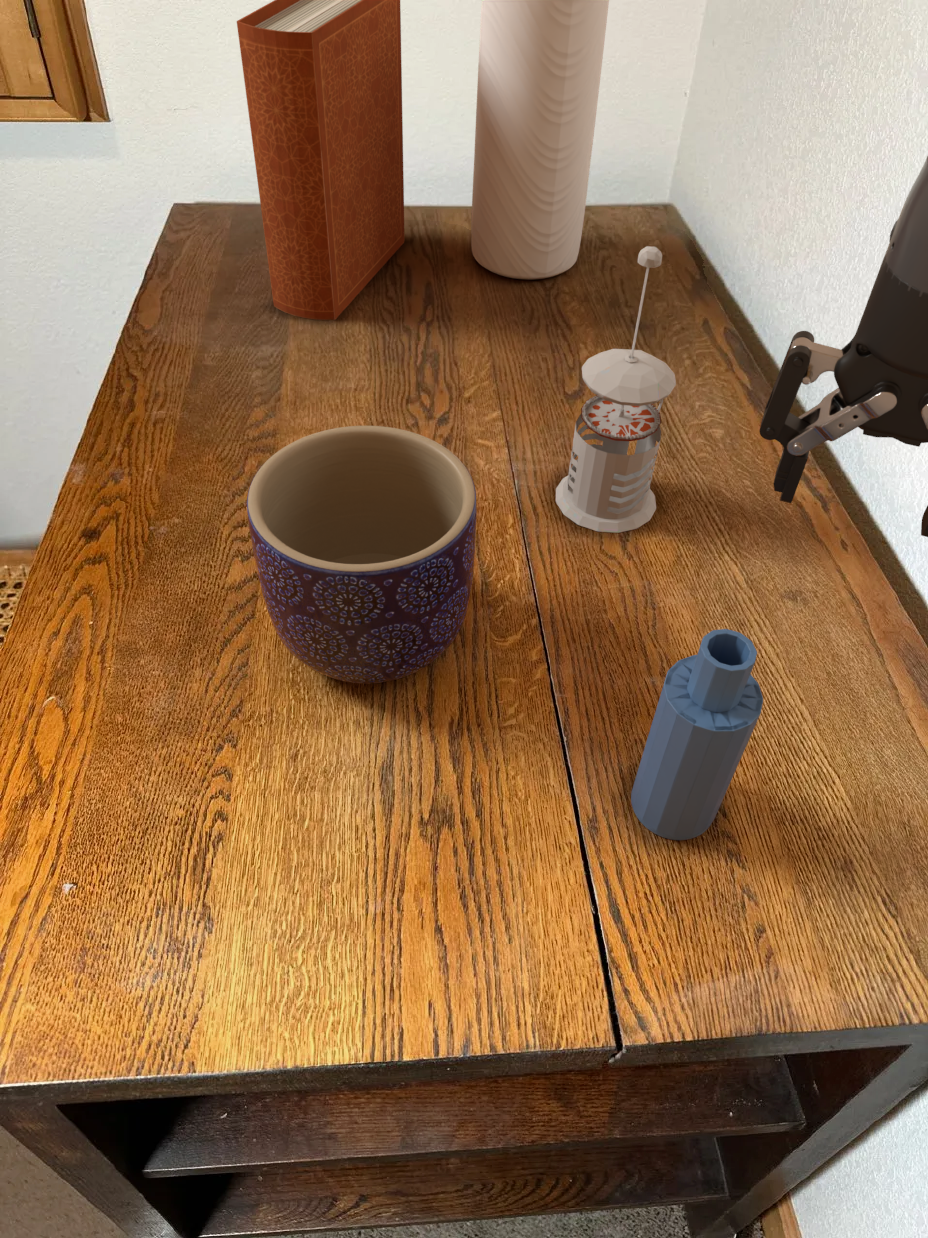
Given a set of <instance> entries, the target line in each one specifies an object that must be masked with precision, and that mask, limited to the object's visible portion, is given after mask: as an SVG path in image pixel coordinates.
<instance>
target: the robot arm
mask: <svg viewBox="0 0 928 1238" xmlns="http://www.w3.org/2000/svg"><path fill="white" fill-rule="evenodd" d="M888 241H889V243H888V246H887V248H886V252H885V254H884V256H883V259H882V262H881V265H880V267H879V270H878V272H877V275H876V278H875V281H874V283H873V287H872V289H871V291H870V294H869V297H868V298H867V299H868V300H867V302H866V305H865V306H864V307H865V308H864V310H863V313H862V315H861V318H860V320H859V324H858V326H857V329H856V332H855V333H854V336H853V337H852V338H851V340H850V341H849V342H848V343H847V344H846V345H844V346H843V347H842V348H837V347H833V346H829V345H826V344H821V343H817V342H815V337H814V335H813V334H812V333H811V332H810V331H808V330H800V331H797V332H796V333H795V334H794V335H793V336H792V339H791V341H790V344H789V346H788V349H787V351H786V354H785V357H784V360H783V362H782V364H781V367H780V369H779V371H778V374H777V377H776V380H775V382H774V384H773V387H772V389H771V392H770V394H769V397H768V399H767V403H766V405H765V407H764V412H763V415H762V419H761V423H760V428H759V435H760V437H761V438H762V439H764V440H767V441H774V440H775V441H777V442H778V443H780V444H781V446H782V447H783V450H782V453H781V456H780V459H779V462H778V464H777V468H776V471H775V474H774V480H773V483H772V484H773V490H774V492H778V493H781V494H780V498H779V501H780V502H782V503H787V504H792V503H793V500H794V497H795V494H796V493H797V490H798V486H799V485H800V481H801V478H802V476H803V473H804V470H805V468H806V465H807V462H808V459H809V455H810V452H811V451H812V450H814V449H815V448H817V447H819V446H821V445H822V444H824V443H826V442H828V441H829V442H834V441H837V440H838V439H840V438H842V437H843V436H845V435H847V434H848V433H850V432H852V431H854V430H856V429H857V428H859V429H860V430H862V435H864V436H868V437H873V438H891V439H894V440H896V441H898V442H901V443H903V444H905V445H910V446H914V447H918V448H920V446H921V444H926V443H928V155H927V156H926V159H925V161H924V163H923V165H922V167H921V169H920V171H919V173H918V175H917V177H916V179H915V180H914V182H913V184H912V185H911V189H910V190H909V192H908V194H907V196H906V199H905V201H904V203H903V206H902V208H901V211H900V214H899V216H898V219H896V220H895V222H894V224H893V226H892V227H891V231H890V234H889V240H888ZM828 372H833V376H834V380H835V382H836V385H837V388H835V389H834V390H833V391H830V392H829V393H828V394H827V395H825V396H824V397H823V398H822V399H821V401H820V402H819V403H817V404H816V405H815V406H813V407H812V408H810V409H808V410H807V411H805V412H804V413H801V415H799V416H796V415H795V414H794V413H792V412H791V410H792V407H793V405H794V402H795V399H796V397H797V395H798V392H799V391H800V389H801V388H800V387H801V385H802V384H803V385H809V384H813V383H815V382H816V381H817V380H818V379H819V378H820V376H821V375H822V374H824V373H828ZM920 536H922V537H926V538H928V505H927V506H926V508H925V510H924V512H923V514H922V517H921V525H920Z"/></svg>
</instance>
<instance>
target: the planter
mask: <svg viewBox="0 0 928 1238" xmlns="http://www.w3.org/2000/svg"><path fill="white" fill-rule="evenodd" d="M246 512H247V521H248V528H249V533H250V534H249V535H250V540H251V545H252V551H253V552H252V553H253V557H254V562H255V567H256V571H257V575H258V576H257V577H258V580H259V584H260V589H261V593H262V596H263V600H264V603H265V606H266V610H267V612H268V613H267V614H268V615H269V619H270V622H271V624H272V627H273V629H274V631H275V632H276V634H277V636H278V638H279V639H280V641H281V642H282V644H283V645H284V647H285V648H286V649H287V650H288V651H289V653H291V655H292V656H293V657H295V658H296V659H297V660H299V661H300V662H301V663H302V664H304V665H305V666H307V667H308V668H310V669H311V670H313V671H315V672H318V673H319V674H321V675H323V676H326V677H328V678H331V679H334V680H337V681H342V682H346V683H352V684H362V685H363V684H367V685H368V684H370V685H371V684H380V683H388V682H393V681H397V680H400V679H402V678H405V677H408V676H411V675H413V674H415V673H417V672H419V671H420V670H422V669H424V668H426V667H427V666H429V665H431V664H432V663H433V662H434V661H436V660H437V659H438V658H439V657H440V656H441V655H442V654H443V653H444V652H445V651H446V650H447V649H448V648H449V647H450V646H451V644H452V643H453V642H454V640H455V639H456V638H457V636H458V634H459V633H460V630H461V628H462V626H463V623H464V622H465V618H466V615H467V611H468V606H469V603H470V597H471V591H472V584H473V579H474V568H475V567H474V566H475V554H476V541H477V540H476V539H477V515H478V514H477V490H476V486H475V482H474V479H473V476H472V475H471V473H470V471H469V469H468V468H467V466H466V465H465V463H463V461H462V460H461V459H460V458H459V457H458V455H456V454H455V453H454V452H452V451H451V450H450V449H448V448H447V447H445V446H444V445H442V444H441V443H439V442H437V441H435V440H434V439H431V438H429V437H427V436H424V435H421V434H419V433H416V432H413V431H409V430H407V429H401V428H396V427H392V426H391V427H390V426H383V425H349V426H348V425H347V426H342V427H341V426H340V427H335V428H329V429H325V430H321V431H317V432H315V433H312V434H309V435H306V436H303V437H301V438H299V439H296V440H294V441H292V442H291V443H289V444H287V445H285V446H284V447H282V448H280V449H279V450H277V451H276V452H275V453H274V454H272V455H271V456H270V457H268V459H267V460H266V461H265V462H264V463H263V464H262V465H261V466H260V468H259V469H258V470H257V471H256V473H255V475H254V476H253V478H252V480H251V482H250V485H249V488H248V491H247V497H246Z"/></svg>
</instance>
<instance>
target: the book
mask: <svg viewBox="0 0 928 1238" xmlns="http://www.w3.org/2000/svg"><path fill="white" fill-rule="evenodd" d="M401 20H402V19H401V0H272V1H270V2H269V3H267V4H265V5H262V7H259V8H258V9H256V10H254V11H252V12H250V13H249V14H247V15H245V16H243V17H242V18H240V19H237V20H236V27H237V36H238V42H239V51H240V58H241V65H242V73H243V81H244V88H245V95H246V103H247V112H248V120H249V126H250V134H251V142H252V149H253V157H254V165H255V172H256V179H257V187H258V188H257V189H258V195H259V204H260V210H261V218H262V219H261V220H262V226H263V234H264V242H265V249H266V256H267V257H266V258H267V263H268V272H269V279H270V287H271V294H272V301H273V303H272V304H273V307H274V308H275V309H277V310H279V311H281V312H284V313H285V314H288V315H291V316H294V317H297V318H302V319H308V320H320V321H335V320H337V318H339V316H340V315H341V314H342V313H343V312H344V311H345V310H346V308H347V307H348V306H349V305H350V304H351V303H352V302H353V301H354V299H355V298H356V297H357V296H358V295H359V294H360V292H362V291H363V289H364V288H365V287H366V286H367V285H368V284H369V283H370V282H371V280H372V279H373V278H374V277H375V276H376V275H377V273H379V271H380V270H381V269H382V268H383V267H384V266H385V264H387V262H389V260H390V259H391V258H392V257H393V256H394V255H395V253H396V252H397V251H398V250H400V248H401V247H402V245H403V244H404V243H405V242H406V241H405V238H406V236H405V235H406V234H405V233H406V232H405V190H404V189H405V185H404V183H405V182H404V134H403V133H404V131H403V130H404V126H403V124H404V123H403V78H402V77H403V75H402V74H403V73H402V70H403V69H402V68H403V67H402V22H401Z"/></svg>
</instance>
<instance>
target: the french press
mask: <svg viewBox="0 0 928 1238" xmlns="http://www.w3.org/2000/svg"><path fill="white" fill-rule="evenodd" d="M662 261H663V254H662V251H661V250H660V249H659V248H658V247H657V246H649V245H646V246H644V247H643V248H642V249H640V251H639V252H638V256H637V264H639V265H640V266H642V267H644V268H646V269H645V274H644V281H643V286H642V290H641V295H640V296H641V297H640V302H639V307H638V312H637V319H636V324H635V330H634V334H633V340H632V345H631V349H625V348H612V349H607V350H604V351H602V352H598V353H597V354H595V355H593V356H591V357H589V358H587V359H586V360H585V362H584V364H583V365H582V366H581V377H582V380H583V382H584V384H585V385H586V386H587V388H588V389H589V390H590V392H591V393H593V395H594V396H592V397H590V398H589V399H587V400H585V402H584V403H583V405H581V408H580V414H579V416H578V417H577V419H576V421H575V425H574V433H573V439H572V447H571V452H570V460H569V466H568V474H567V475H566V476H564V477H562V479H561V481H560V482H559V484H558V485H557V486H556V488H555V503H556V505H557V506H558V508H559V510H560V511H561V513H562V515H563V516H565V517H566V518H568V519H569V520H570V521H572V522H573V523H575V525H578V526H581V527H584V528H586V529H589V530H593V531H595V532H601V533H615V534H617V533H624V532H628V531H632V530H637V529H639V528H640V527H642V526H644V525H645V524H647V523H648V522H650V521H651V519H652V517H653V515H654V514H655V511H656V510H657V503H656V495H655V494H654V492H653V491H652V490H651V483H652V480H653V473H654V471H655V466H656V461H657V457H658V452H659V449H660V445H661V440H662V439H661V438H662V429H661V424H662V416H661V412H660V411H661V408H662V406H663V403H664V399H666V398H668V397H669V396H670V395H671V393H673V390H674V388H676V386H677V382H676V374H675V372H674V371H673V370H672V369H671V368H670V366H669V365H668V364H667V363H666V362H665V361H663V360H661V359H659V358H658V357H656V356H654V355H652V354H650V353H648V352H646V351H643V350H641V349H635V348H636V344H637V343H636V342H637V337H638V331H639V326H640V322H641V321H640V320H641V315H642V311H643V304H644V300H645V299H644V298H645V294H646V289H647V282H648V277H649V272H650V268H651V269H652V268H653V269H655V268H658V267H660V266H661V265H662ZM657 403H659V405H658V407H656V406H655V404H657ZM582 423H584V425H583V426H582V427H580V428H579V426H580V425H581V424H582ZM586 430H590V431H592V432H593V433H586V434H584V435H583V436H581V434H583V433H584V432H585V431H586ZM590 440H597V441H601V442H602V445H601V444H596V443H592V444H589V443H587V442H586V441H590ZM635 441H636V444H635V450H634V454H628V450H629V445H630V442H635ZM576 457H577V459H576Z"/></svg>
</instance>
